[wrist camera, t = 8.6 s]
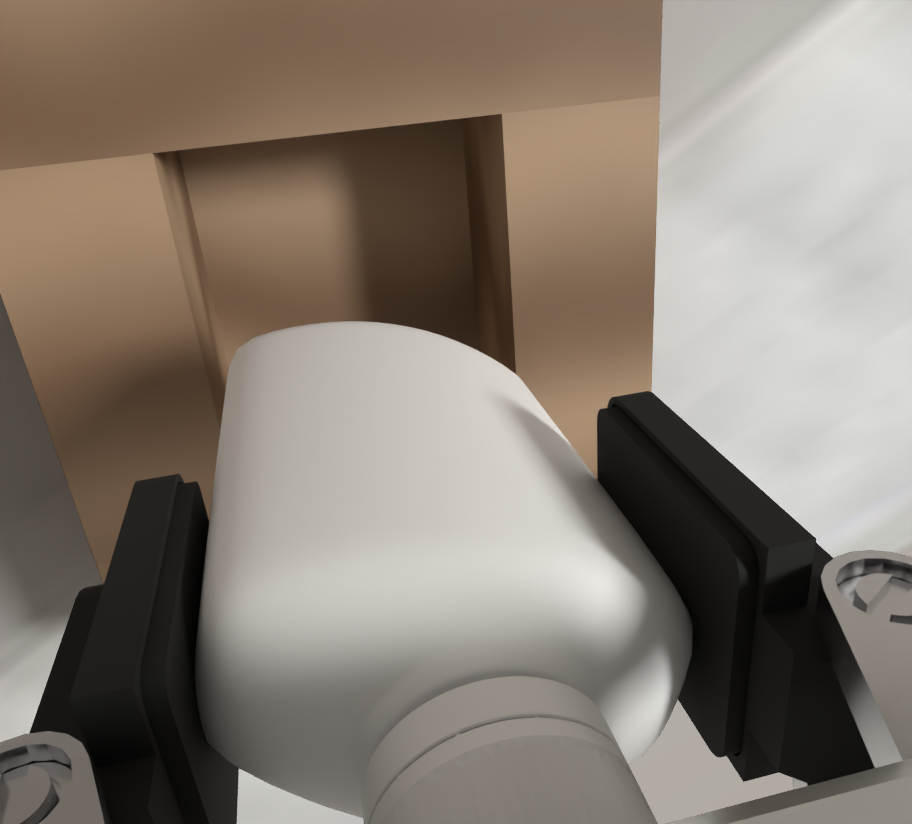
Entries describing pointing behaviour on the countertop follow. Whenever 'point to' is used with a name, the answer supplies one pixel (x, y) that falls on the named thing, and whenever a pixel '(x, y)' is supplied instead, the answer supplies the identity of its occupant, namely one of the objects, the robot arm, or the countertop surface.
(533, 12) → the box
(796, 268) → the countertop surface
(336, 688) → the eye dropper bottle
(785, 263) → the countertop surface
